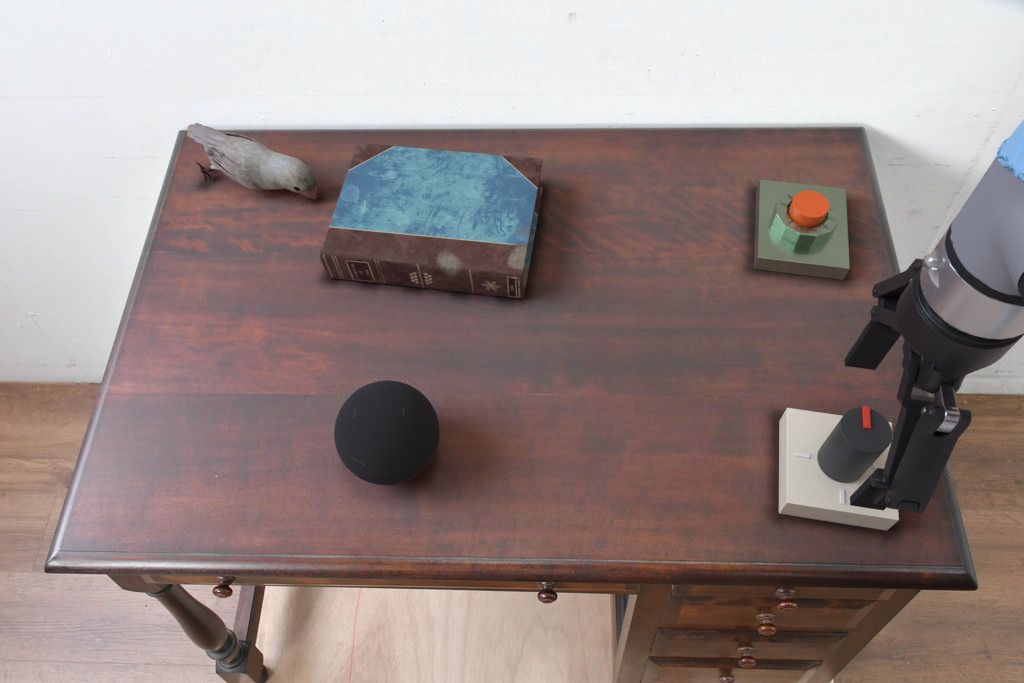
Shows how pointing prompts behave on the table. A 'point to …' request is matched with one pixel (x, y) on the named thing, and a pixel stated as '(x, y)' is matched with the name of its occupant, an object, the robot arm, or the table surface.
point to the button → (808, 208)
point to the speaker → (386, 432)
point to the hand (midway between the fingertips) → (862, 431)
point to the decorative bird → (252, 162)
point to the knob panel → (820, 475)
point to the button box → (800, 233)
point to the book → (435, 220)
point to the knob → (854, 444)
